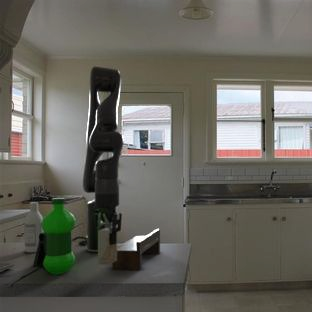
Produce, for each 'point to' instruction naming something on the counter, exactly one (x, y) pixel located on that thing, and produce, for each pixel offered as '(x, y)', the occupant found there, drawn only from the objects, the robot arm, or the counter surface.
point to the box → (106, 248)
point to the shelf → (136, 251)
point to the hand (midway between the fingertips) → (107, 242)
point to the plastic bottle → (58, 238)
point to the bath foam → (33, 228)
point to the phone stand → (40, 251)
